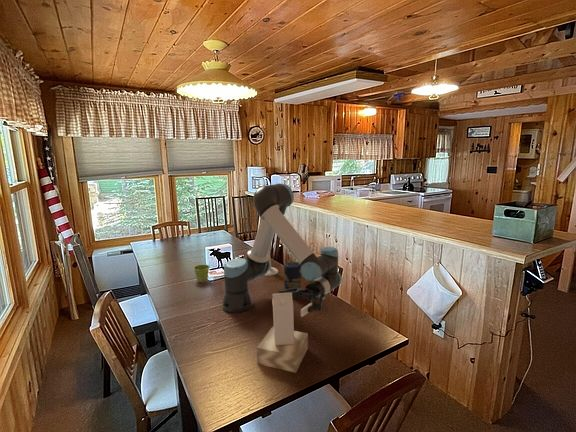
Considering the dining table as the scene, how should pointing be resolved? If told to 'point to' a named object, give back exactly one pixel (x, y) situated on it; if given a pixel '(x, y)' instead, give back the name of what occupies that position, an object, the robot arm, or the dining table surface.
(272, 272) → the candlestick
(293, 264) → the canister
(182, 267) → the dining table surface
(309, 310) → the robot arm
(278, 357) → the block
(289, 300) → the milk carton
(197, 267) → the plant pot
